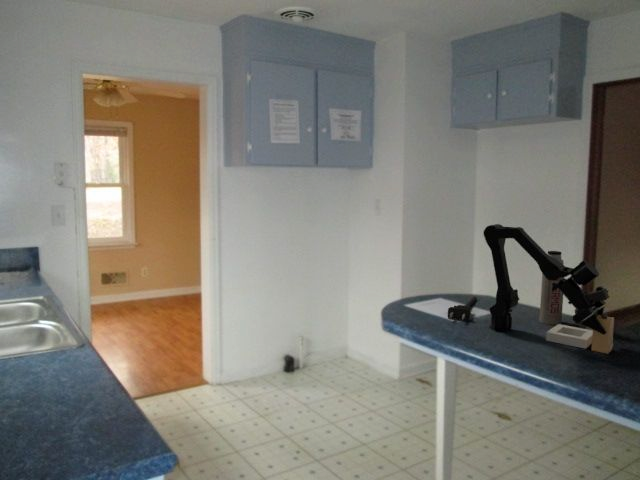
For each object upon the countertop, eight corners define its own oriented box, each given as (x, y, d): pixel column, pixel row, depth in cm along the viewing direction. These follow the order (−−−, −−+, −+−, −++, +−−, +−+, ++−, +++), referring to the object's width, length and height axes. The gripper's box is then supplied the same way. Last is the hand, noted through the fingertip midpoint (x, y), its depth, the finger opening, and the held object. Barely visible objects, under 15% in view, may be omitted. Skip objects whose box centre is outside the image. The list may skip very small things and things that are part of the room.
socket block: (545, 340, 190) (546, 332, 190) (557, 332, 200) (558, 324, 199) (585, 348, 182) (586, 340, 181) (596, 339, 191) (596, 331, 191)
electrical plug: (444, 321, 213) (445, 309, 213) (464, 302, 250) (465, 291, 250) (467, 324, 209) (467, 311, 209) (484, 304, 247) (484, 293, 246)
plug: (591, 350, 180) (594, 314, 179) (595, 346, 184) (598, 311, 182) (609, 354, 177) (612, 317, 175) (613, 350, 180) (616, 314, 179)
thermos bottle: (561, 325, 208) (566, 253, 204) (539, 323, 211) (543, 252, 207) (561, 320, 215) (565, 250, 211) (539, 318, 218) (543, 249, 214)
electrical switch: (589, 333, 199) (588, 308, 198) (574, 331, 202) (573, 307, 202) (595, 327, 206) (594, 303, 206) (580, 326, 210) (580, 302, 209)
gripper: (585, 284, 173) (621, 324, 167) (601, 275, 187) (634, 312, 181) (558, 304, 179) (592, 343, 173) (575, 294, 193) (607, 330, 187)
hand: (607, 331), depth 179 cm, fingers open, 6 cm apart
